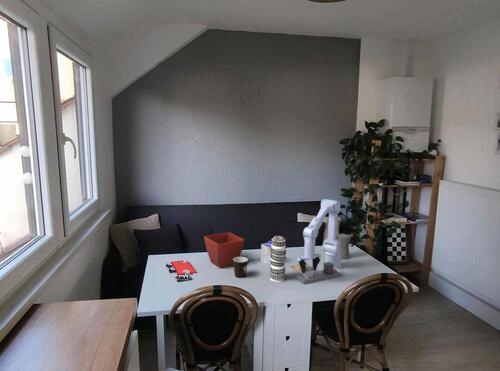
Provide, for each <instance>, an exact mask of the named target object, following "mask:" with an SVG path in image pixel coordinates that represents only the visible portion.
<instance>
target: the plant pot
mask: <svg viewBox="0 0 500 371" xmlns="http://www.w3.org/2000/svg"><path fill="white" fill-rule="evenodd" d="M204 243H205V248H206V252H207V254H208V258H209V261H210V262H211V263H212V264H213V265H215V266H216V267H218V268H219V269H222V268H226V267H231V266H234V263H233V259H234V258H236V257H241V254H242V251H243V248H244V243H245V239H244V238H243V237H240V236H237V235H235V234H234V233H232V232H221V233H216V234H211V235H206V236H205V235H204Z"/></svg>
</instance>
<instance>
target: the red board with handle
mask: <svg viewBox="0 0 500 371" xmlns="http://www.w3.org/2000/svg"><path fill="white" fill-rule="evenodd" d="M188 261H189V260H188ZM188 261H187V262H185V263H183V262H184V261H183V260H176V261H173V260H172V261H170V262H171V263H170V264H169V263H165V267H168V273H169V272H171V273H177V274H176V276H175V279H176V281H177V282H181V281H187V280H192V279H193V278H192V276H191V275H194V274H193V273H197V274H198V272H197V270H196V268H195V267H194V266H193V265H192V263H191V262H190V261H189V262H188ZM171 264H172V265H171ZM170 266H173V267H172V269H171V267H170ZM173 268H174V269H175V270H174V269H173ZM174 271H176V272H174ZM185 274H186V275H188V278H187V277H186V276H185V278H184V277H183V276H180V277H179V275H185ZM190 274H191V275H190ZM177 275H178V276H177Z"/></svg>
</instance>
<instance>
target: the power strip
mask: <svg viewBox="0 0 500 371" xmlns="http://www.w3.org/2000/svg"><path fill="white" fill-rule="evenodd" d="M337 270H338V269H333V274H329V275H327V274H325V273H324V272H323V269H321V270H316V271H313V278H310V279H307V278H305V277H304V276H303V273H300V274H297V275H295V280H297V281H299V282H300V283H301V284H302V285H308V284H312V283H317V282H320V281H326V280H330V279H335V278H339V277H342V276H341V275H342V273H341V272H340V271H337Z"/></svg>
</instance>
